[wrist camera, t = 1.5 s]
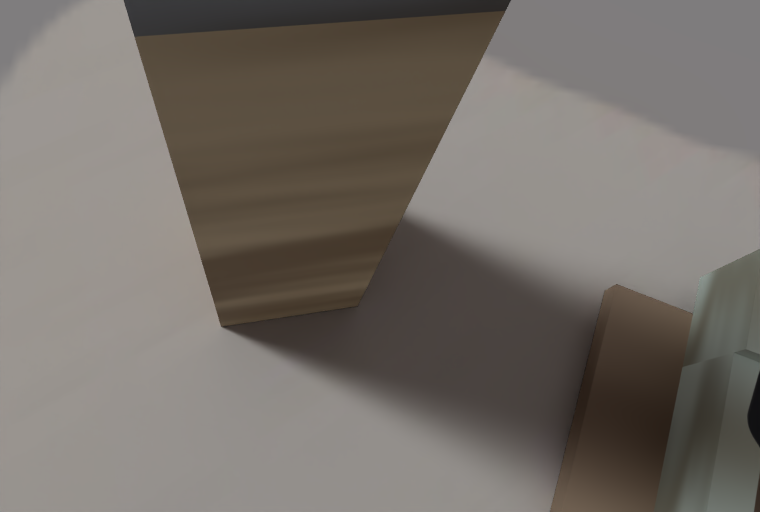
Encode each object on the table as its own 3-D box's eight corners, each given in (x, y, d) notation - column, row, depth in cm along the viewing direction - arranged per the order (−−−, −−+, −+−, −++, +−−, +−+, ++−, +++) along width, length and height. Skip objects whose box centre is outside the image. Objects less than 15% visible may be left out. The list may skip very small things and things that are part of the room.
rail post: (357, 306, 21) (524, -26, 7) (221, 326, 20) (123, -2, 7) (335, 183, 22) (443, -305, 8) (205, 198, 21) (91, -313, 8)
